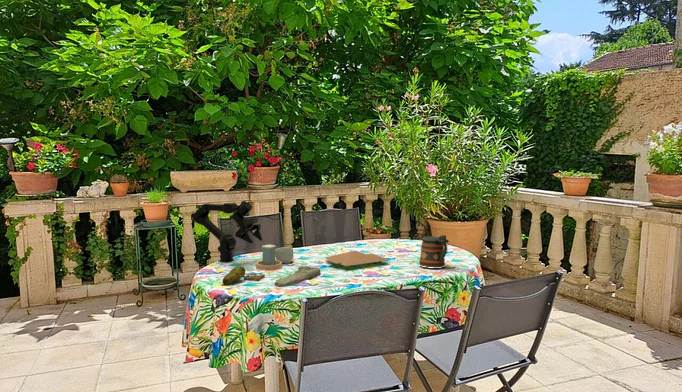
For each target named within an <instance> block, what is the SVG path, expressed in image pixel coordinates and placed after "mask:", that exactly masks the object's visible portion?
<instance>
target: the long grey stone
mask: <svg viewBox="0 0 682 392" xmlns="http://www.w3.org/2000/svg"><path fill="white" fill-rule="evenodd" d="M320 273H321V268H319V267H317V266H309V265H305V266H303V265H300V266H298V268H297V270H295V272H294V273H292V274H289V275H286V276H283V277H280V278H279V279H276V280H275V282H274V285H275V286H276V287H278V288H284V287H289V286H292V285H295V284H299V283H300V282H303V281H306V280H309V279H312V278H314V277H317V276H318V275H319V274H320Z"/></svg>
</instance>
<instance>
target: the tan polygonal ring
mask: <svg viewBox="0 0 682 392" xmlns="http://www.w3.org/2000/svg"><path fill="white" fill-rule="evenodd" d="M255 268H256V269H257V270H260V271H275V270H280V269H282V268H283V263H282V262H281V261H278V260H276V259H275V265H268V266H267V265H263V259H261V260H258V261H256V262H255Z"/></svg>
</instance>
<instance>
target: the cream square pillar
mask: <svg viewBox="0 0 682 392" xmlns="http://www.w3.org/2000/svg"><path fill="white" fill-rule="evenodd" d="M261 248H262V250H261V251H262V253H261V254H262V260H263V265H267V266H268V265H275V260H276V257H275V249H276V245H274V244H265V245H262V246H261Z"/></svg>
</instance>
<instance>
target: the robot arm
mask: <svg viewBox="0 0 682 392" xmlns="http://www.w3.org/2000/svg"><path fill="white" fill-rule="evenodd" d="M252 210H253V206H252V205H251V203H249V202H247V201H246V200H242V201H241V203H240V204H239V205H238V204H237V203H236V202H230V203H224V204H223V203H221V204H220V203H203V204H202V205H201V206H200V207H199V208H198V209H196V211H195V212H194V213H193V214H192V216H191V217H192V221H193V222H195V223H196V224H198V225H201V226H203V227H204V228H205V229H206V230H207V231H208V232H210V234H211V235H213V236H214V238H216V239H217V240H218V242H219V243H218V244H219V246H217V251H218V252H219V255H220V257H219V260H218V262H220V263H221V262H222V263H231V262H233V261H235V259H234V253H233V251H234V250H235V249H236V245H237V240H236V238H237V239H238V238H239V240H240V239H241V240H243V241H245V242H247V243H250V244H253V243H254V241H253V240H252V237H250V235H249V233H251V234H252V236H253V237H255V238H256V239H258V240H259V241H263V237H262V234H261V228H262V225H261V224H260V223H258V222H259V218H258V217H257V216H256V215H254V216H252V217H250V218H246V216H247V215H248V214H249V213H250V212H251V211H252ZM211 211H212V212H213V211H215V212H222V213H224V214H228V215H229V221H232V220H233V221H234V223H236V227H237V228H238V229H237V231H236V232H235V233H234V236H235V237H236V238H235V237H234V236H233V235H232V234H231V233H227V234H226V233H224V232H223V231H222V230H221V229H220V228H219V227H218V226H217V225H216V224H214V223H213V222H212V221H211V220H210V217H209V215H210V212H211Z"/></svg>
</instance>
